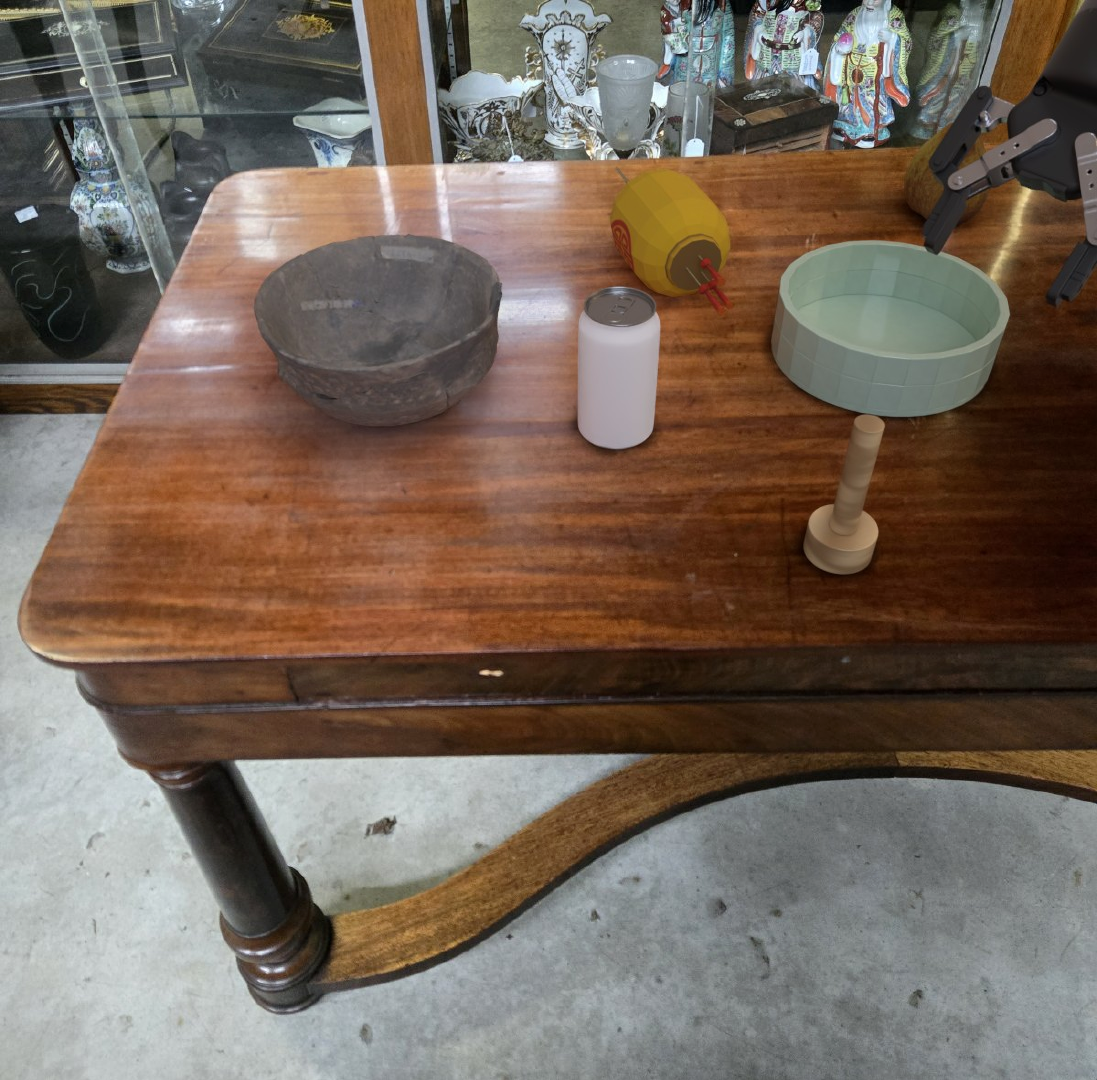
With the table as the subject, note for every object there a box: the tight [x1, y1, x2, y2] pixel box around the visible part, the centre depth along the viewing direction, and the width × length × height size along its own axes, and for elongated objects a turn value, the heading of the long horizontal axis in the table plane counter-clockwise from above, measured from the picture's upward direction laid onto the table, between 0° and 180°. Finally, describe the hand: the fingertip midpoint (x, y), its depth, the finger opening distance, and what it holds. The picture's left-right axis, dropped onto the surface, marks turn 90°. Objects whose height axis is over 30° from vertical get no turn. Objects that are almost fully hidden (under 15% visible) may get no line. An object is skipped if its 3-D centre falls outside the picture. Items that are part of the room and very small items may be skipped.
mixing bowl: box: [770, 239, 1011, 418], centre depth 94 cm, size 20×20×6 cm
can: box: [577, 286, 661, 451], centre depth 84 cm, size 6×6×12 cm
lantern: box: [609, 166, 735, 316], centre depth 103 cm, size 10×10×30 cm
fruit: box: [903, 122, 991, 226], centre depth 110 cm, size 9×9×12 cm
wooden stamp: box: [802, 414, 886, 575], centre depth 73 cm, size 5×5×12 cm
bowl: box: [253, 233, 503, 427], centre depth 89 cm, size 21×21×10 cm
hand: (989, 275), depth 68 cm, fingers open, 8 cm apart
